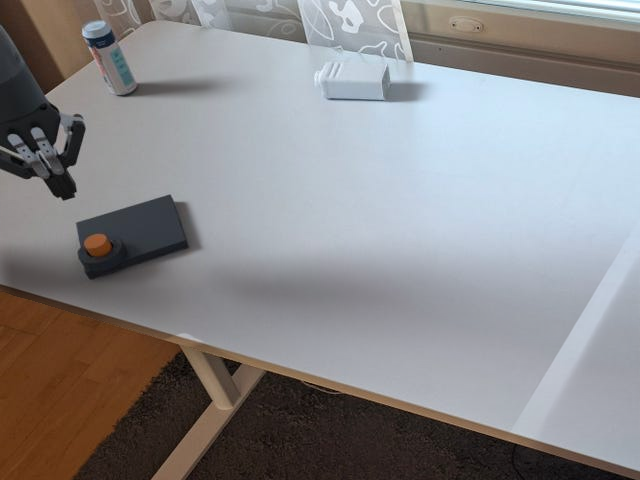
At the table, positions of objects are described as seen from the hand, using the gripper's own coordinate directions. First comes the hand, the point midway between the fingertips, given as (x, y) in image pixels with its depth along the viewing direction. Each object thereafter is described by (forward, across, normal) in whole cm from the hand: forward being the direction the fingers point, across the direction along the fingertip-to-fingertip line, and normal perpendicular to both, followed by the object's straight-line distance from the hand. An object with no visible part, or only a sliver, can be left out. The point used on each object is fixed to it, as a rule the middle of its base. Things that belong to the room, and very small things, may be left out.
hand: (68, 195), depth 88 cm
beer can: (+12, -9, -48) cm, 50 cm away
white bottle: (+13, -47, -26) cm, 55 cm away
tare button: (+9, 0, 0) cm, 9 cm away
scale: (+12, -4, -4) cm, 13 cm away
